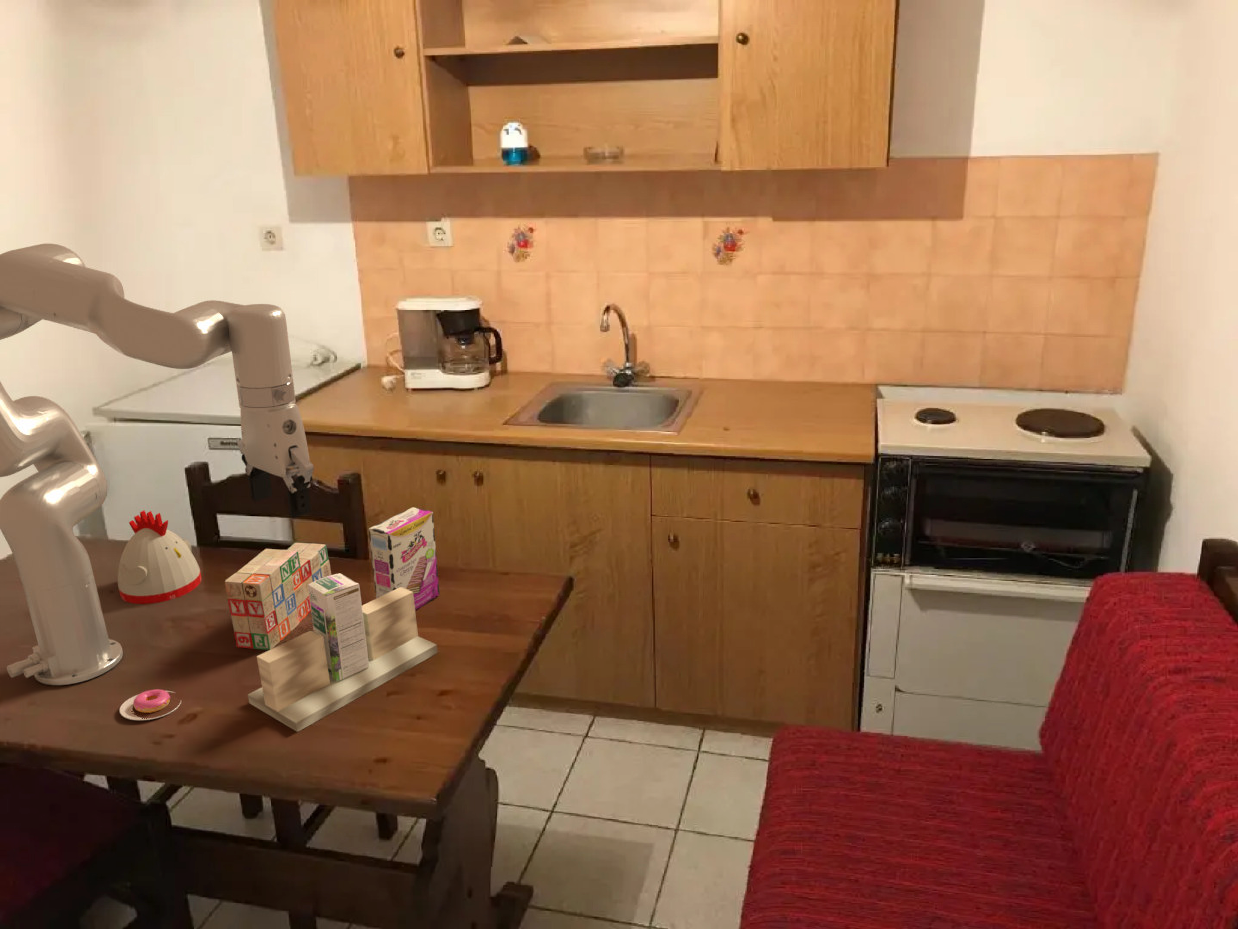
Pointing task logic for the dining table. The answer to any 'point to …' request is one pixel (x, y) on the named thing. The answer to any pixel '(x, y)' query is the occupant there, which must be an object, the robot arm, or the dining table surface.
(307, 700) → the slotted board
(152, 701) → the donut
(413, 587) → the candy bar box
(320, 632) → the syrup box
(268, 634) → the stack of blocks
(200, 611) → the dining table surface
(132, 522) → the kitchen timer
